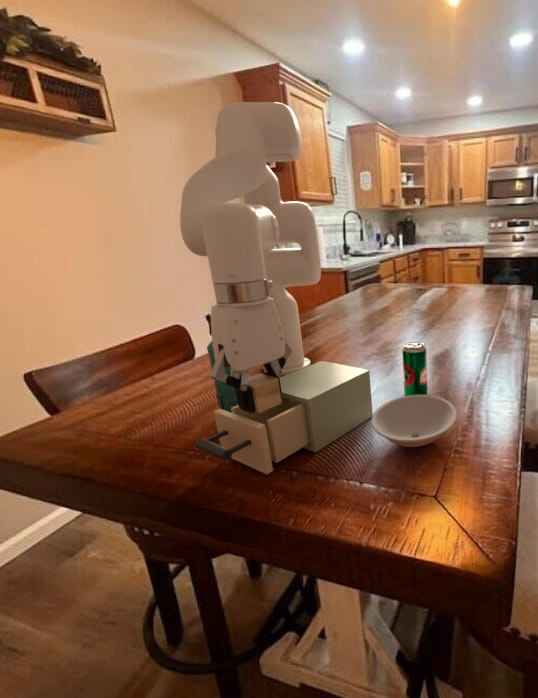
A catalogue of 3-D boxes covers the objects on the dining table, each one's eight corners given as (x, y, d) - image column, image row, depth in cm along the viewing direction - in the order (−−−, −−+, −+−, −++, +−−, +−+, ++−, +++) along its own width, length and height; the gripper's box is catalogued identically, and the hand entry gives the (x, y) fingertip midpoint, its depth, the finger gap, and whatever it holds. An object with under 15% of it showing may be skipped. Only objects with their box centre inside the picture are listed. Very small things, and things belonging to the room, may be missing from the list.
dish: (447, 474, 61) (446, 445, 59) (358, 462, 65) (356, 435, 63) (463, 421, 77) (463, 397, 75) (391, 414, 81) (390, 391, 79)
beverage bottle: (261, 411, 85) (245, 318, 79) (240, 425, 79) (221, 326, 73) (236, 408, 88) (218, 317, 81) (214, 422, 82) (193, 325, 75)
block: (241, 407, 66) (236, 382, 64) (264, 397, 69) (260, 373, 68) (259, 413, 63) (254, 387, 62) (281, 403, 67) (278, 377, 65)
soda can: (425, 402, 86) (424, 348, 82) (402, 401, 87) (399, 348, 83) (429, 392, 91) (427, 341, 87) (406, 392, 92) (404, 341, 88)
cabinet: (315, 452, 69) (308, 399, 66) (267, 434, 76) (258, 385, 73) (372, 416, 81) (369, 370, 78) (326, 403, 88) (321, 360, 85)
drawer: (238, 492, 58) (227, 443, 55) (193, 468, 64) (182, 424, 61) (333, 433, 73) (328, 393, 70) (289, 419, 79) (284, 381, 76)
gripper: (272, 283, 69) (286, 383, 75) (172, 301, 56) (200, 420, 62) (302, 285, 64) (315, 390, 70) (203, 305, 51) (229, 432, 57)
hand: (261, 403), depth 66 cm, fingers closed on block, 4 cm apart
